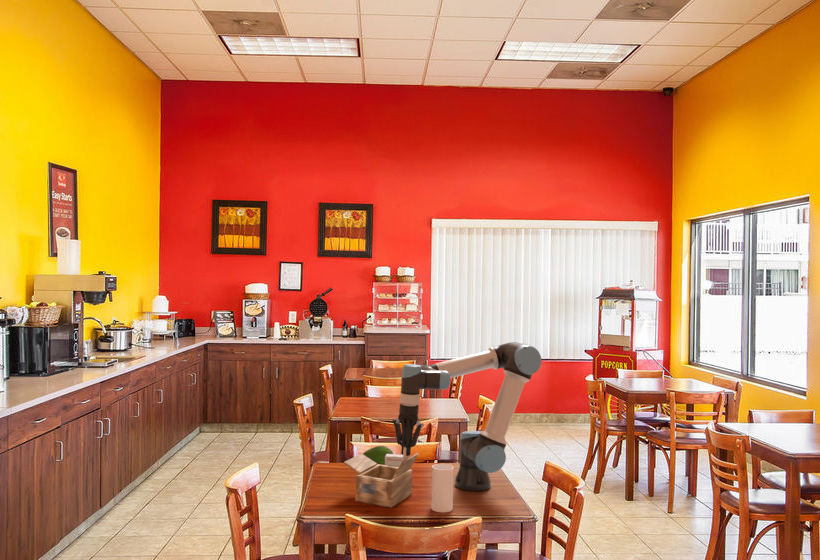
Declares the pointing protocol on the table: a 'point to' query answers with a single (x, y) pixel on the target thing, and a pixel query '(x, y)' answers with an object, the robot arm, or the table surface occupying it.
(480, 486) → the robot arm
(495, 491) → the table surface
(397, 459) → the ink box
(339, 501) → the table surface
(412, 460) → the flap
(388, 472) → the wooden box
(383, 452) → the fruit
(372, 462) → the flap
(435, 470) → the cup
